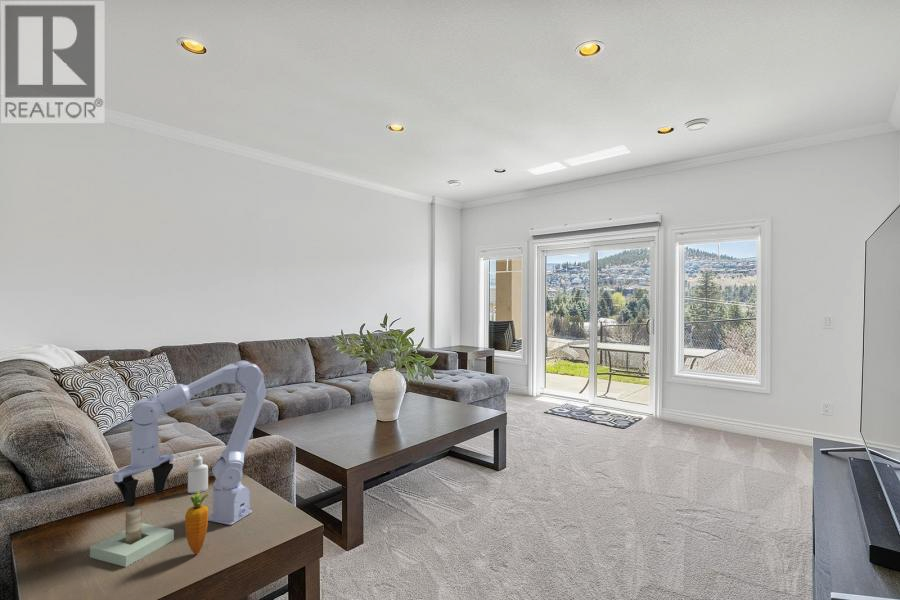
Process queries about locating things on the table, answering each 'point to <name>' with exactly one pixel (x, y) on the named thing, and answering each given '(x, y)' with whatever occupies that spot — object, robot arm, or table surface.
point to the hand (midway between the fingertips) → (144, 498)
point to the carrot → (196, 523)
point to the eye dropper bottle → (198, 476)
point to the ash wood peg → (133, 525)
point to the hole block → (127, 554)
